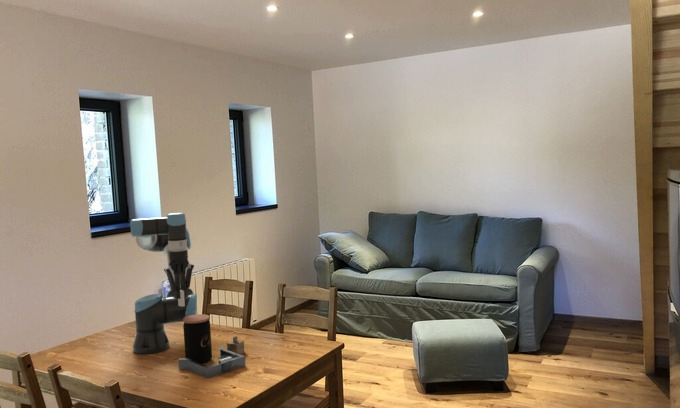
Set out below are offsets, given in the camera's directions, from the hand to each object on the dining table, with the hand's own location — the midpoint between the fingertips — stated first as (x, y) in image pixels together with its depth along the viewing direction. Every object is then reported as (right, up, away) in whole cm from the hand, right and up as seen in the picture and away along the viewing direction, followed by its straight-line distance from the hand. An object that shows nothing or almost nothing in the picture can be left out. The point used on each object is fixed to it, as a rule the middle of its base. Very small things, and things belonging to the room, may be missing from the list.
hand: (181, 305), depth 238 cm
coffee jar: (+9, -22, -7) cm, 24 cm away
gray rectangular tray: (+17, -22, -15) cm, 32 cm away
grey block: (+23, -20, +1) cm, 31 cm away
